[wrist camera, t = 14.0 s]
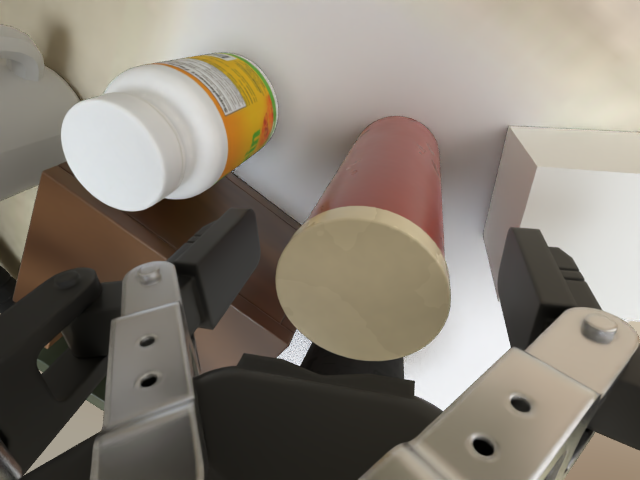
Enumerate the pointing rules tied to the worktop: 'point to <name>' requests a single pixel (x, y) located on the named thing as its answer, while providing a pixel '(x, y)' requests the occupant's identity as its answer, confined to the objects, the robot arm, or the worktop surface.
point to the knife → (6, 290)
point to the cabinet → (161, 253)
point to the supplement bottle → (169, 129)
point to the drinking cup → (349, 364)
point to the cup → (28, 113)
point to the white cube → (574, 205)
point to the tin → (373, 250)
